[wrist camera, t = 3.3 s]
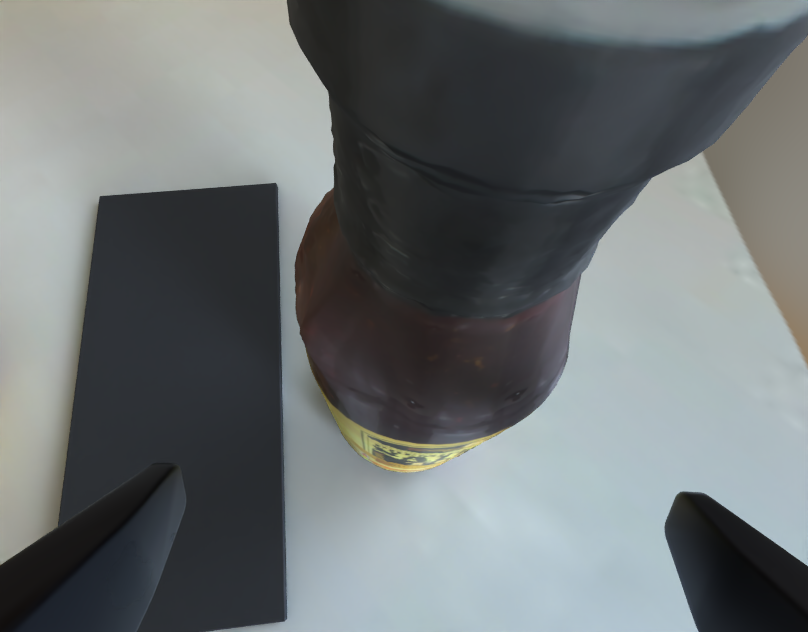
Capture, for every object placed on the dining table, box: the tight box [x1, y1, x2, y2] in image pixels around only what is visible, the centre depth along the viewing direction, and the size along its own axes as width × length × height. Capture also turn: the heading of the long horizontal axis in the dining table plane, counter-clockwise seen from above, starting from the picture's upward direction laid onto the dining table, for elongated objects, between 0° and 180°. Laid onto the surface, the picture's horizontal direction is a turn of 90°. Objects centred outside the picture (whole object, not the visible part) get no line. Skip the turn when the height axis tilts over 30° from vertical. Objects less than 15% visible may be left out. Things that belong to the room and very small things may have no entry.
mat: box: [58, 183, 287, 632], centre depth 21 cm, size 20×9×1 cm, turn 6°
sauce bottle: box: [287, 0, 808, 472], centre depth 12 cm, size 7×6×20 cm
